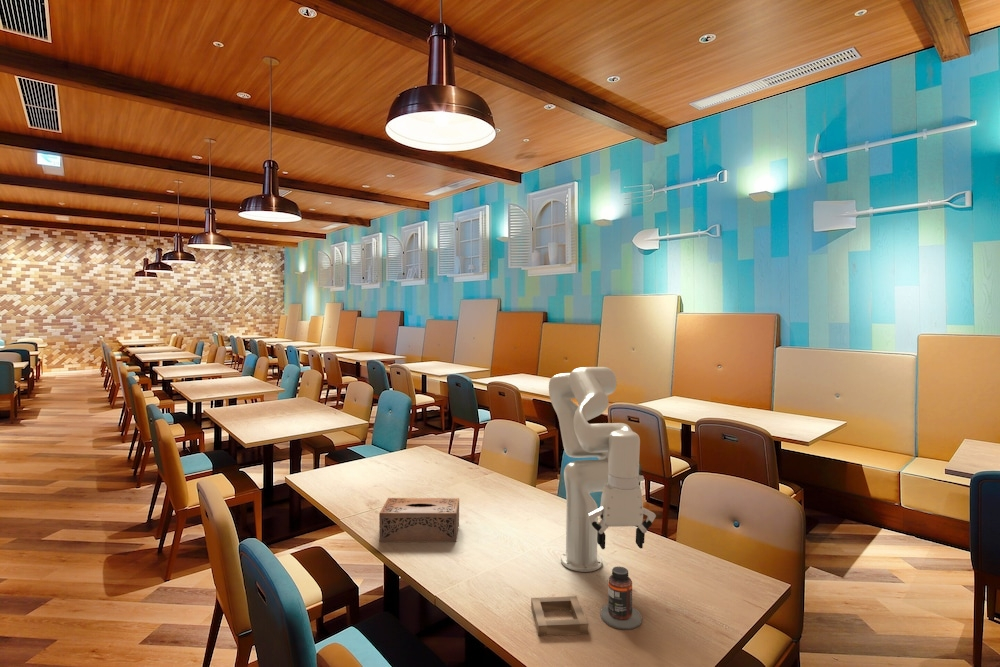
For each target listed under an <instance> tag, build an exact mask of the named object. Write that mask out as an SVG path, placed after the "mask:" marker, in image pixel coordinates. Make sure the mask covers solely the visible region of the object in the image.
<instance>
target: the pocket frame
mask: <svg viewBox="0 0 1000 667" xmlns="http://www.w3.org/2000/svg"><path fill="white" fill-rule="evenodd" d="M530 600H531V602H530V603H531V604H530V605H531V606H530V609H531V612H532V615H533V619H534V623H535V628H536V632H537V636H538V637H548V636H550V637H551V636H568V635H569V636H570V635H571V636H572V635H588V634H589V622H588V620H587V618H586V615H585V613H584V610H583V607H582V606H581V602H579V599H578V597H577V595H570V596H548V597H547V596H546V597H545V596H544V597H531V598H530ZM558 611H559V612H560V611H562V612H563V611H570V612H571V615H572V617H573V618H572V619H550V620H549V619H548V620H547V619H546V618H545V614H544V612H558Z"/></svg>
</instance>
